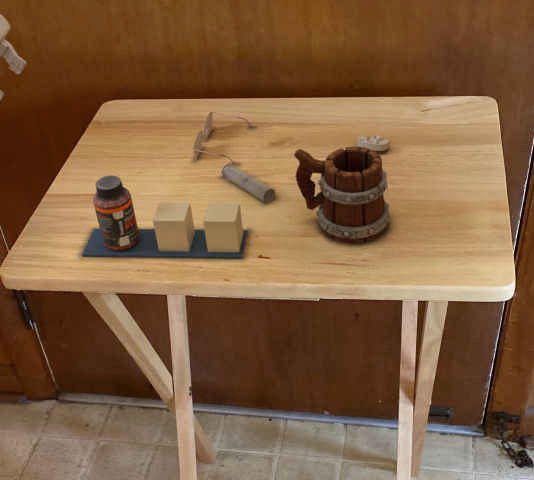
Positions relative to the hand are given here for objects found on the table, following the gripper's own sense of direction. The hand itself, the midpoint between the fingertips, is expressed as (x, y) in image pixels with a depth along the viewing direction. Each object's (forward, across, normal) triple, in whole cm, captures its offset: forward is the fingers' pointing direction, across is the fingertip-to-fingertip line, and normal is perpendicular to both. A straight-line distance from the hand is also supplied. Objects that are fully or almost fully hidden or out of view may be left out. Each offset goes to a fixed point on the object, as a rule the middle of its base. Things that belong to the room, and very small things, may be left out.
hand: (12, 84), depth 117 cm
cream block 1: (+34, -2, +5) cm, 34 cm away
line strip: (+32, -2, +6) cm, 33 cm away
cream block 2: (+39, -2, -1) cm, 39 cm away
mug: (+53, +4, -14) cm, 55 cm away
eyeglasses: (+36, +29, +3) cm, 46 cm away
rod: (+41, +15, -1) cm, 43 cm away
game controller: (+55, +25, -16) cm, 62 cm away
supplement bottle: (+27, -1, +11) cm, 29 cm away
